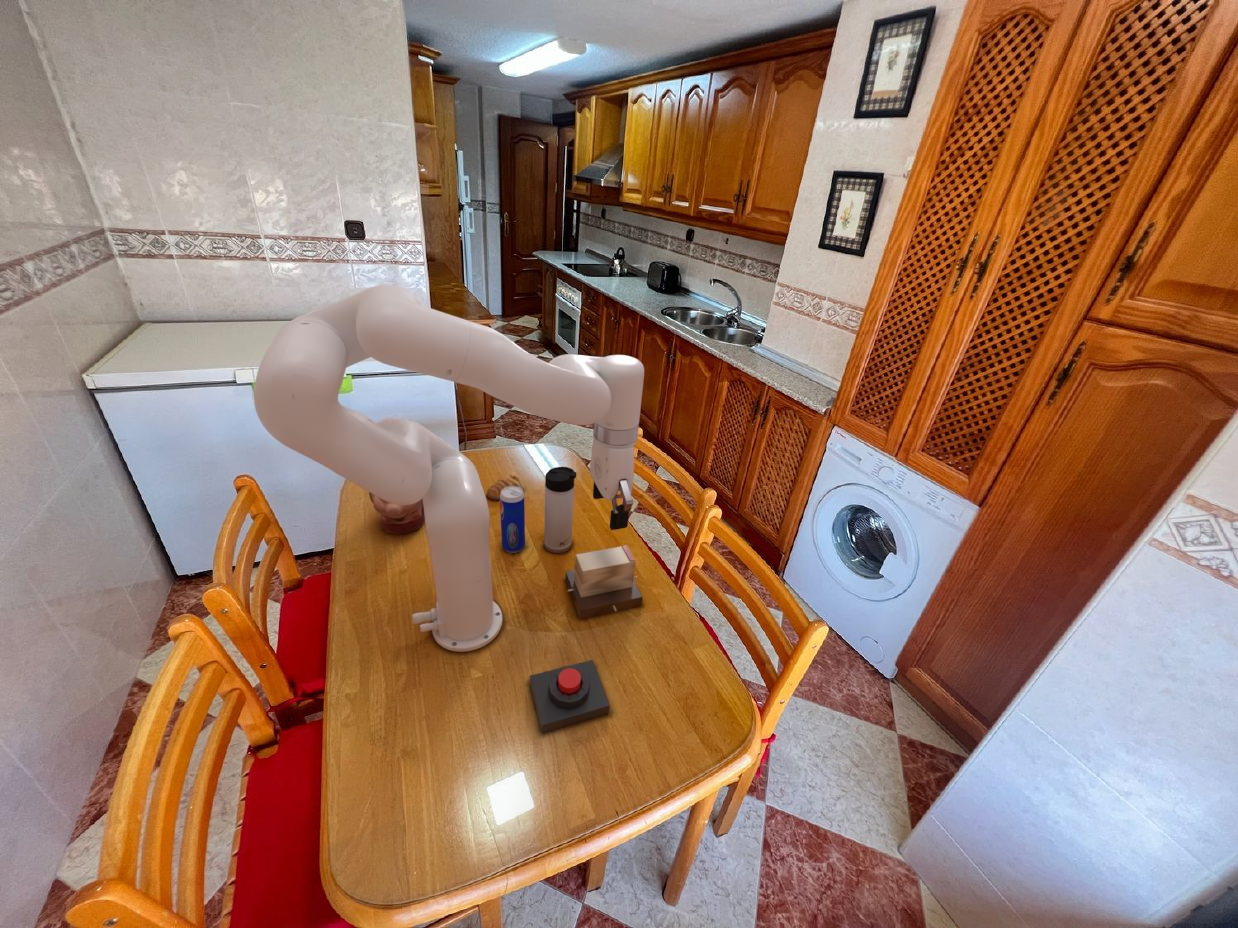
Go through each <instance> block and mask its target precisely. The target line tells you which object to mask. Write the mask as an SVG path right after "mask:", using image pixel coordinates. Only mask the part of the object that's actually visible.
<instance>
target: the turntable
mask: <svg viewBox="0 0 1238 928" xmlns="http://www.w3.org/2000/svg"><path fill="white" fill-rule="evenodd" d="M574 576H575V569H572V570H567V571H565V577H564V578H565V584H566V586H567V590H566V591H567V592H569V594H570V596H571V600H572V603H573V604H574V607H575V610H576V613H577V615H578V618H579V620H583V619H588V618H592V617H596V616H600V615H605V614H610V613H614V612H619V611H623V610H627V609H633V608H636V607H642V603H643V595H642V593H641V591H640V590H639V587H638V586H637V584H636V581H635V580H633V587H630V588H625V589H621V590H616V591H611V592H606V593H601V594H596V595H592V596H587V597H582V598H581V596H580V594H579V591H578V589H577V586H576V584H575V581H574ZM638 578H639V577H638V575H634V579H638Z"/></svg>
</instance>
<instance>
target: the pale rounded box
mask: <svg viewBox="0 0 1238 928" xmlns="http://www.w3.org/2000/svg"><path fill="white" fill-rule="evenodd" d="M629 548H630V547H629V546H628V545H627V544H625V545H621V546H617V547H615V546H614V547H610V548H605V549H599V550H593V551H587V552H582V553H575V560H574V570H575V576H574V581H575V584H576V586H577V589H578V591H579V594H580V596H581V598H582V597H587V596H592V595H596V594H601V593H606V592H611V591H616V590H621V589H625V588H630V587H633V580H634V579H635V578H634V577H635V572H636V564H637V561H636V559H635V557H634V555H633V554H632V552H631V550H630V549H629ZM634 581H635V580H634Z"/></svg>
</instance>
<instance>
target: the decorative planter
mask: <svg viewBox="0 0 1238 928" xmlns="http://www.w3.org/2000/svg"><path fill="white" fill-rule="evenodd" d="M368 494H369V499H370V501H371V503H372V504H373V508H374V510H375V511H376V513H378V514H380V516H381V528H382V530H384V531H385V532H387V533H391V534H406V533H410V532H413V531H416V530H418V529H420V528H421V527H422V526H423V525H424V524H425V515H424V506H423V498H422V499H421V500H419V501H418V502H416V503H414V504H410V505H396V504H393V503H390V502H387V501H385V500H383V499H381V498H379V497H377V496H376V495H374V494H372V493H370V492H369V491H368Z"/></svg>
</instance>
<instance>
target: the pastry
mask: <svg viewBox="0 0 1238 928" xmlns="http://www.w3.org/2000/svg"><path fill="white" fill-rule="evenodd" d="M508 486H517V487H520V488H521V489H522V490H523V491H524V490H525V487H524V483H522V481H521V479H520V477H519V476H517V475H516V474H510V475H508V476H505V477H501V478H499V479H498V480H496V481H495V482H494V483H493V484H492V485H491V486H489V487H488V489H487V493H486V496H487V497H488V498H489V499H493V500H497V501H498V500H499V501H500V493H501V491H502V489H504V488H505V487H508Z"/></svg>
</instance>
